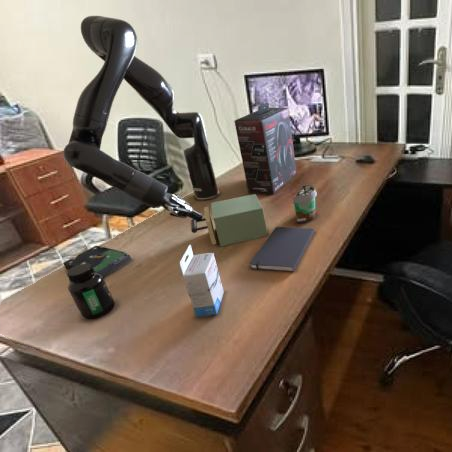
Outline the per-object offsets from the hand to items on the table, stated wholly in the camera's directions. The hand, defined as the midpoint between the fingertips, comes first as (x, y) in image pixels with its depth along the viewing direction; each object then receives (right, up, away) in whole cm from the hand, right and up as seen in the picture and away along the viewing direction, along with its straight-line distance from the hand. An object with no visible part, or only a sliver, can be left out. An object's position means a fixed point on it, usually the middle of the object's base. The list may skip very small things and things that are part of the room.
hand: (201, 218), depth 107 cm
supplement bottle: (-15, -23, -24) cm, 36 cm away
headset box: (+15, +16, +45) cm, 50 cm away
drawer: (+6, -5, +5) cm, 9 cm away
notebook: (+26, -9, -4) cm, 28 cm away
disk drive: (-27, -14, -6) cm, 31 cm away
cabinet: (+11, -4, +7) cm, 13 cm away
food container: (+32, +1, +13) cm, 35 cm away
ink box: (+12, -21, -24) cm, 34 cm away
